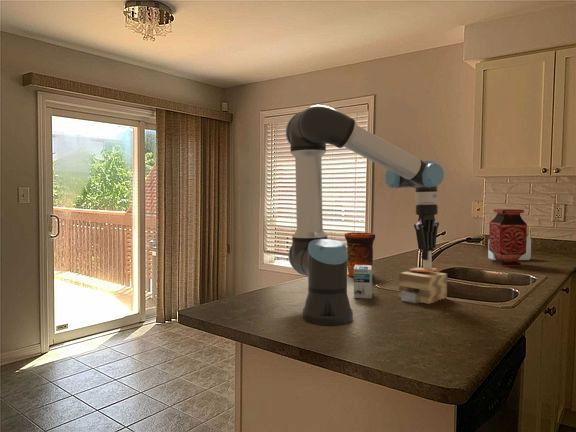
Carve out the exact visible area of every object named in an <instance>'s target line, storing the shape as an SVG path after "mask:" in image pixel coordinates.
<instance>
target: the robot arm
mask: <svg viewBox="0 0 576 432" xmlns="http://www.w3.org/2000/svg"><path fill="white" fill-rule="evenodd" d="M285 137H286V141H287V142H288V143H289V145H290V154H291V155H292V156H293V158H294V159H295V160H294V161H295V164H294V165H295V203H296V204H295V205H296V206H295V207H296V216H295V217H296V230H295V232H294V233H293V234H292V236H291V237H292V238H291V239H292V242H291V243H292V244H291V245H290V248H289V251H288V263H290V266H291V268H292V269H294V270H295V272H297V273H298V274H299V275H302V276H306V277H308V278H307V279H308V280H307V281H308V282H307V284H308V285H307V286H308V292H307V297H306V300H305V305H304V306H303V309H302V320H303V321H305V322H307V323H309V324H314V325H321V326H339V325H344V324H348V323H351V322H352V321H353V319H354V318H353V317H354V315H353V313H354V312H353V309H352V308H351V303H350V299H349V296H348V275H347V274H348V267H347V259H348V254H347V244H345V243H344V242H342V241H339V240H337V239H332V238H331V239H328V234H327V233H326V232H325V231H324V229H323V228H324V227H323V226H324V225H323V179H322V178H323V176H322V175H323V170H322V169H323V168H322V167H323V166H322V164H323V162H322V157H323V155H325V154H326V153H327V145H331V146H333V147H336V148H338V149H342V148H345V149H347V150H349V151H352V152H353V153H355V154H357V155H359V156H361V157H363V158H364V159H366V160H369V161H371V162H373V163H375V164H376V165H378V166H380V167H382V168H385V169H386V171H385V175H384V178H385V184H386V186H387V187H388V188H390V189H415V203H416V204H415V214H416V215H418V220H417V223H414V224H413V227H414V230H415V234H416V240H417V247H418V248H417V249H418V250H419V251H420V252H422V253H421V254H422V255H421V256H422V268H424V269H432V268H433V267H432V266H433V265H432V262H433V260H432V257H433V256H432V252H433V251H435V249H436V245H437V244H436V243H437V237H438V236H437V235H438V229H439V225H440V222H439V221H436V218H435V215H437V214H438V204H437V203H438V197H439V195H438V187H439V186H440V185H441V184H442V183H443V182H444V178H445V171H444V168H443V166H441V165H440V164H439V163H438V162H436V161H434V160H423V159H420V158H418V157H417V156H415V155H413V154H411V153H409V152H408V151H405V150H403V149H402V148H400V147H398V146H397V145H394V144H393V143H391V142H389V141H387V140H385V139H384V138H382V137H380V136H378V135H376V134H374V133H372V132H370V131H369V130H367V129H366V128H363V127H361V126H359V125H358V124H357V123H356V119H354V118H352V117H351V116H348V115H347V114H345V113H343V112H341V111H339V110H338V109H337V110H336V109H335V108H333V107H330V106H327V105H321V104H316V105H311V106H309V107H308V108H306V109H305V110H302V111H299V112H297V113H295V114H294V115H293V116H292V117H291V118H290V119H289V121H288V122H287V124H286V128H285Z"/></svg>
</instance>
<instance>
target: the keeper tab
mask: <svg viewBox="0 0 576 432" xmlns="http://www.w3.org/2000/svg"><path fill="white" fill-rule="evenodd" d="M438 270H439V269H438V268H437V267H432V269H424V268H423V267H419V266H416V267H410V268H407V272H408V271H419V272H431V271H432V272H437V271H438Z"/></svg>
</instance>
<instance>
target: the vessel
mask: <svg viewBox="0 0 576 432" xmlns="http://www.w3.org/2000/svg"><path fill="white" fill-rule="evenodd" d="M344 239H345V240H346V247H347V254H348V259H347V276H350V277H354V266H355V265H372V266H373V265H374V264H373V260H374V257H373V256H374V255H373V254H374V253H373V251H374V249H373V245H374V241H375V240H376V234H375V233H374V232H357V231H356V232H354V231H351V232H345V233H344ZM373 277H374V274H372V278H373Z"/></svg>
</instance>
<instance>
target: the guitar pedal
mask: <svg viewBox="0 0 576 432" xmlns="http://www.w3.org/2000/svg"><path fill="white" fill-rule="evenodd" d="M487 243H488V246H487V247H488V248H487V250H488V251H487V252H488V253H487V254H488V257H487V258H488V259H489V260H492V261H493V260H496V258H495V256H494V255H493V253H492V252H491V251H490V250H489V241H488V242H487ZM531 257H532V239H531V237H529V236H527V243H526V254H524V255H522V256H521V257H520V258H519V260H518V261H530V260H531Z"/></svg>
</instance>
